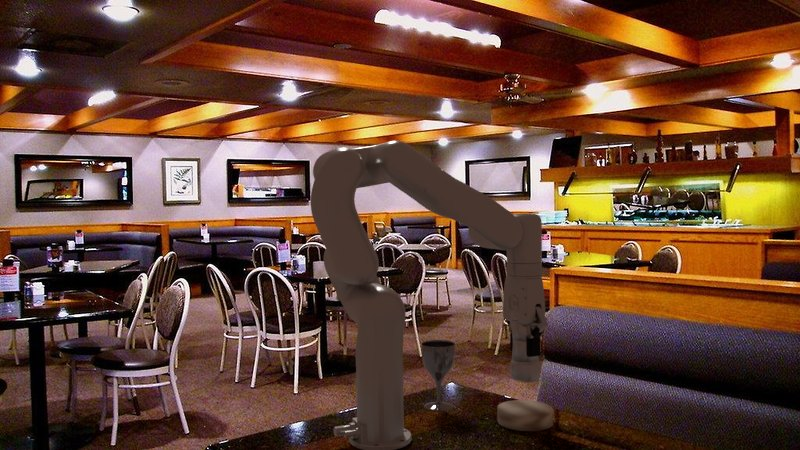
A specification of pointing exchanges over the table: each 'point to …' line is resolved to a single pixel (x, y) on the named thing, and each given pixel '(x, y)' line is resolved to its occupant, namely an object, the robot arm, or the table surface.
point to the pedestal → (525, 415)
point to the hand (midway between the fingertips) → (525, 352)
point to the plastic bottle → (522, 353)
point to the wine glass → (438, 367)
